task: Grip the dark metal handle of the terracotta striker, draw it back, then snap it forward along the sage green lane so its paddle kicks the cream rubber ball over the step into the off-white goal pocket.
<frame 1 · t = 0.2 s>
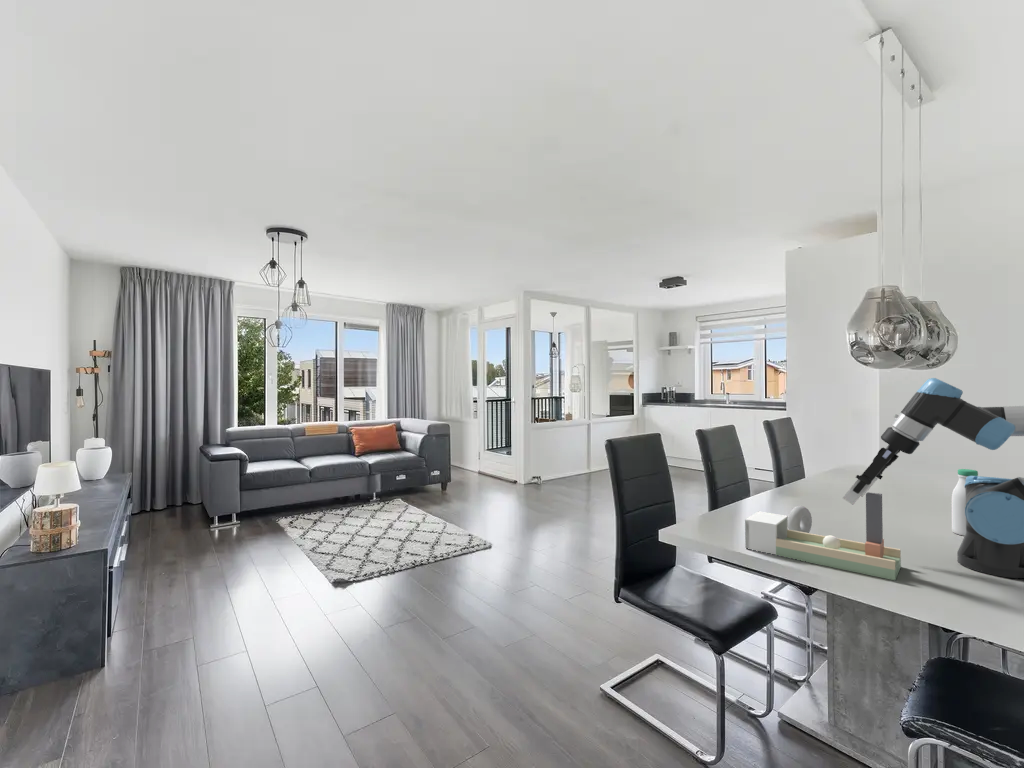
hand: (852, 497, 134), 16 cm above the table, tool tilted 30°, fingers open, 13 cm apart
milk bottle: (968, 535, 152), on the table
donut: (800, 539, 150), on the table
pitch: (818, 557, 133), on the table
ball: (831, 543, 131), point 4 cm above the table, touching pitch
striker: (874, 525, 125), point 11 cm above the table, slide at -1.4 cm
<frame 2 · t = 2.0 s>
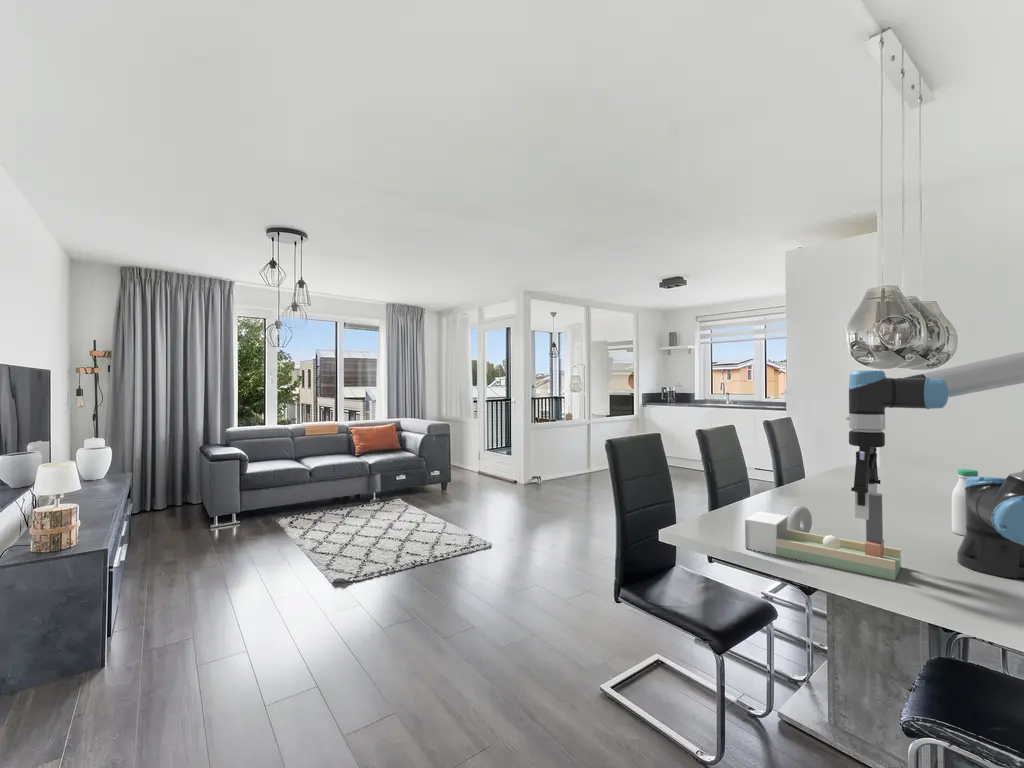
hand: (866, 513, 126), 14 cm above the table, tool pointing down, fingers open, 13 cm apart
nothing on the table moved.
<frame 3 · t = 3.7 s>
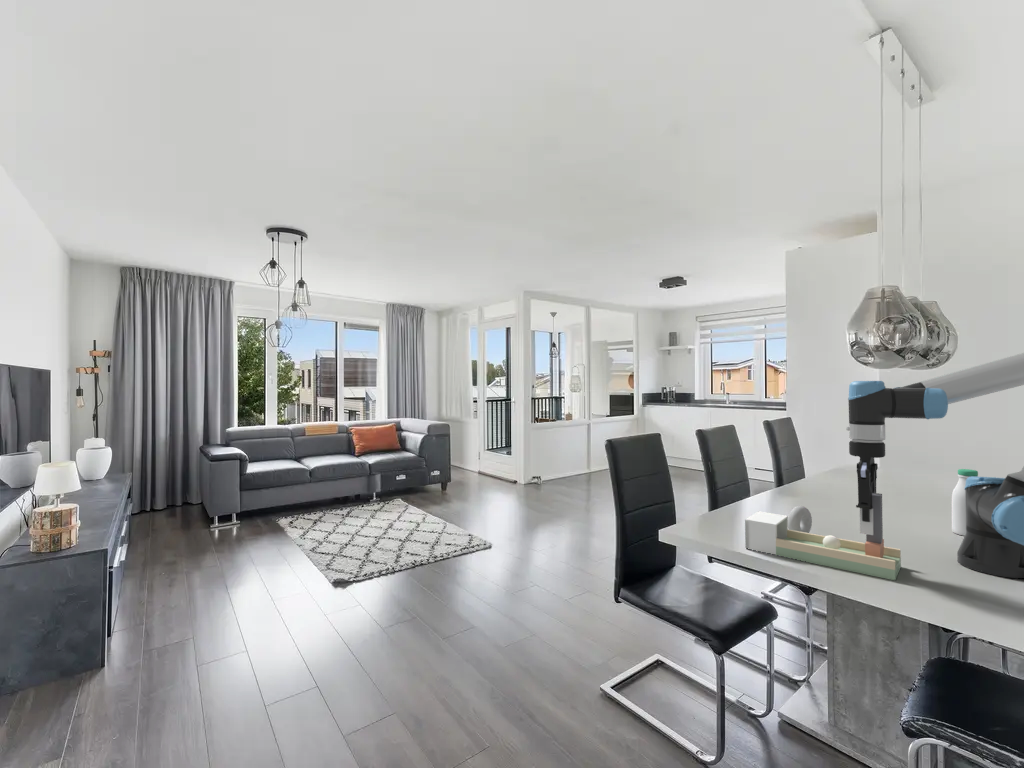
hand: (867, 532, 126), 9 cm above the table, tool pointing down, fingers closed on striker, 3 cm apart
striker: (874, 525, 125), point 11 cm above the table, slide at -1.4 cm, touching gripper
everything else where it was.
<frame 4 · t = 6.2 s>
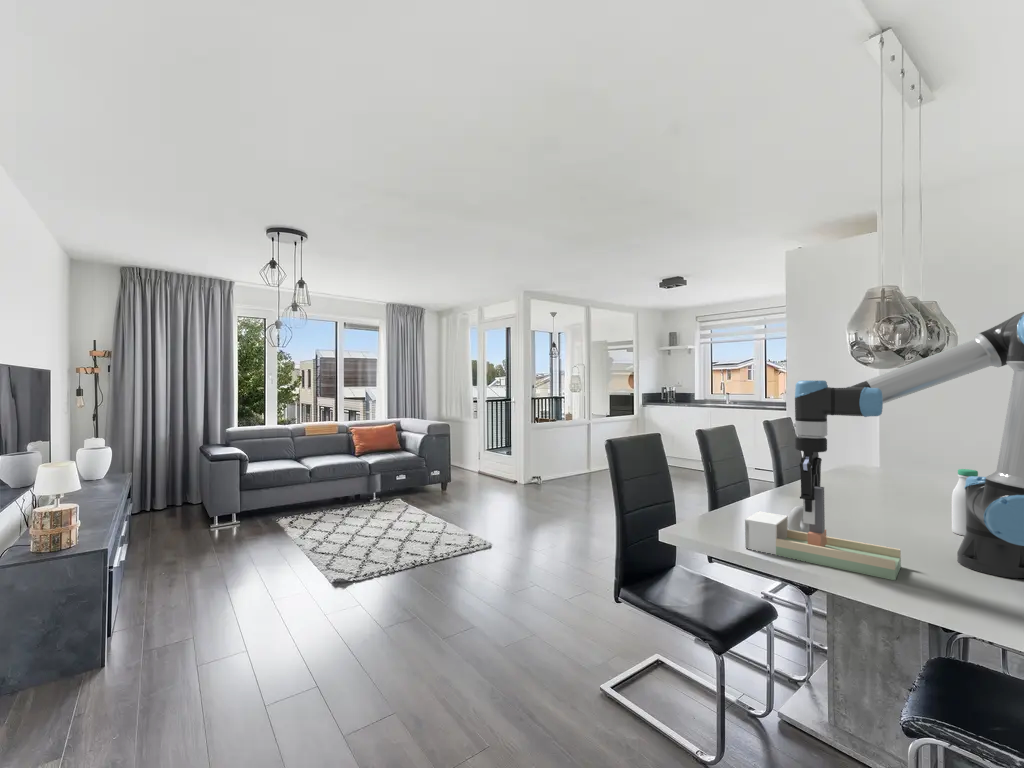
hand: (810, 521, 135), 9 cm above the table, tool pointing down, fingers closed on striker, 3 cm apart
ball: (763, 539, 143), point 2 cm above the table, tilted 107°
striker: (816, 516, 134), point 11 cm above the table, slide at 11.3 cm, touching gripper
everything else where it was.
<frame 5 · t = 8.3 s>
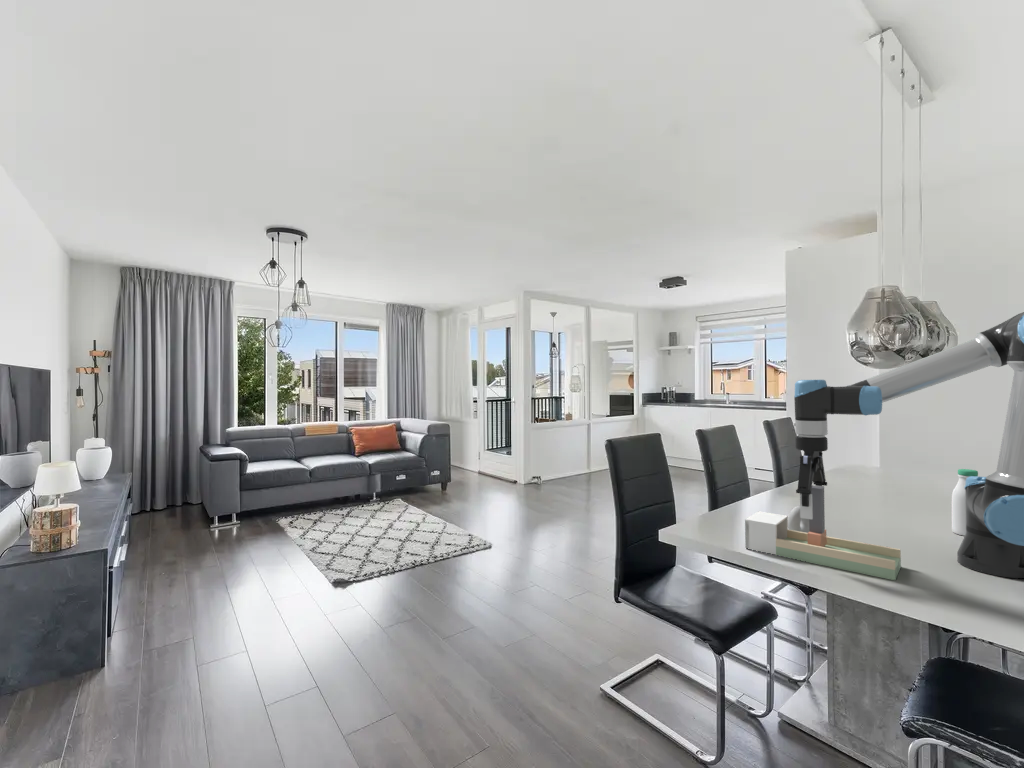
hand: (812, 513, 134), 12 cm above the table, tool pointing down, fingers open, 13 cm apart
striker: (816, 516, 134), point 11 cm above the table, slide at 11.3 cm
everything else where it was.
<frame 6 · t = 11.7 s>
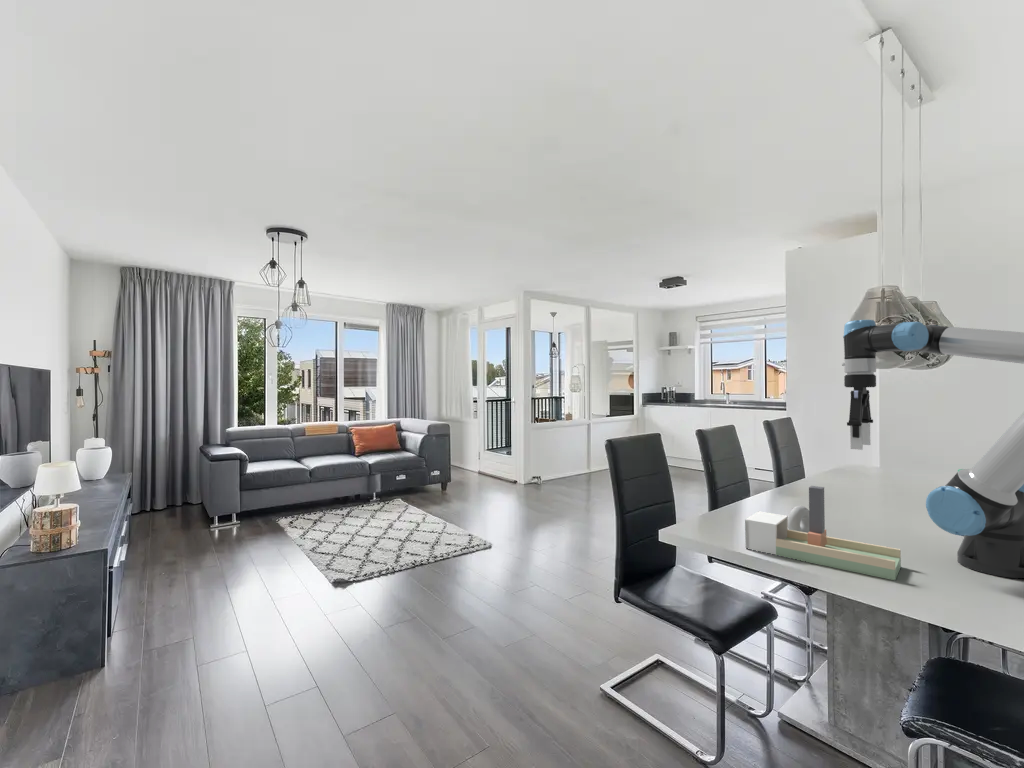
hand: (860, 447, 142), 29 cm above the table, tool pointing down, fingers open, 13 cm apart
nothing on the table moved.
at the end: ball inside the target area on the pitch (0.7 cm from its centre), point 2.0 cm above the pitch's base; striker slide at 11.3 cm; the gripper is holding nothing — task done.
